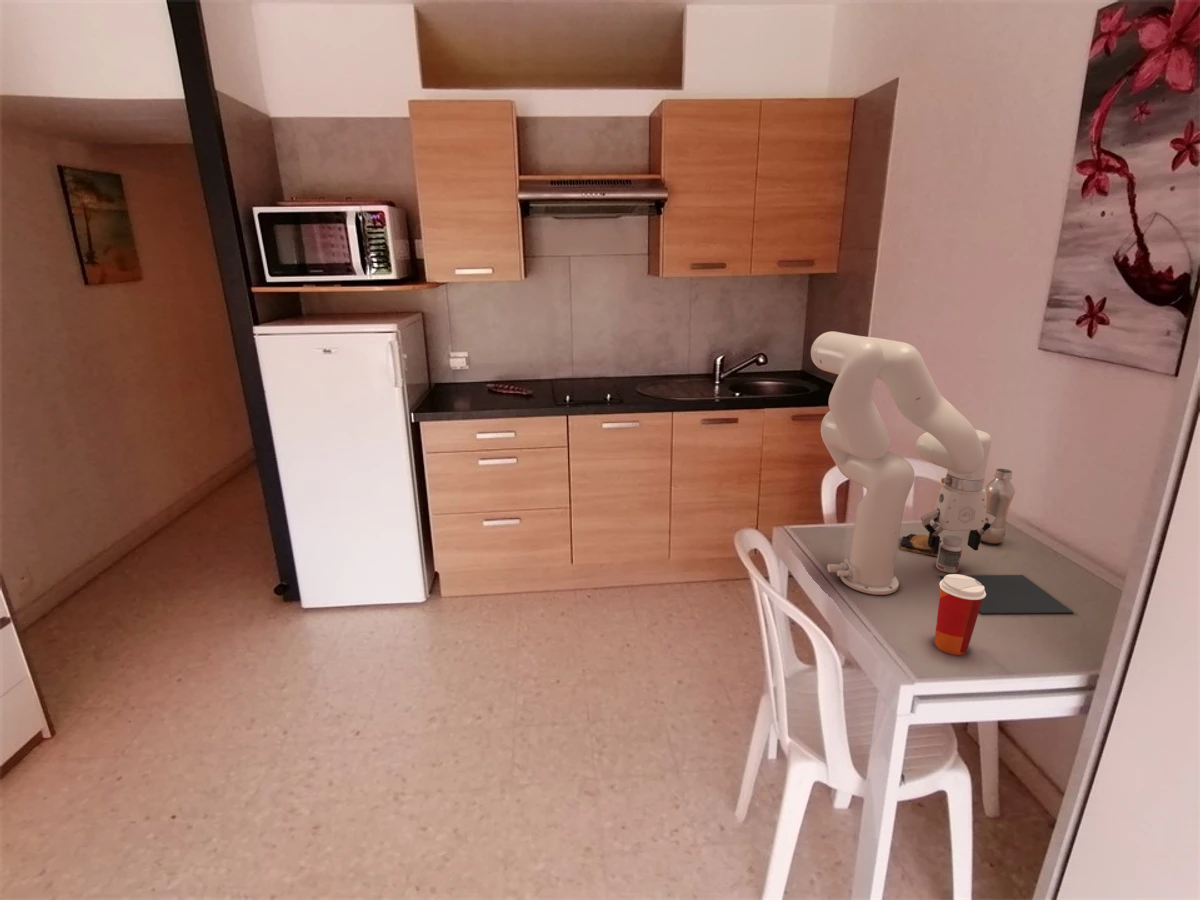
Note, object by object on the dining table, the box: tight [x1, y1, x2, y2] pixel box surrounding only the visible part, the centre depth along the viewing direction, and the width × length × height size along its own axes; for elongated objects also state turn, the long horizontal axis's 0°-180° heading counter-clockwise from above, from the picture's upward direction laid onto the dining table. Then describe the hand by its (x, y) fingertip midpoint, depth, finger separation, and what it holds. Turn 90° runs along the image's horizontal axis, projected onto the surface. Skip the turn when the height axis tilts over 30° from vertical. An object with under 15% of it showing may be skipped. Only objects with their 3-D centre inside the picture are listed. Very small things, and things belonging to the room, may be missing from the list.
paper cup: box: [934, 573, 986, 656], centre depth 117 cm, size 8×8×14 cm
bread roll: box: [900, 533, 943, 557], centre depth 159 cm, size 11×8×4 cm
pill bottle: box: [935, 533, 963, 574], centre depth 148 cm, size 5×5×8 cm
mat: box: [939, 574, 1074, 615], centre depth 138 cm, size 20×16×1 cm
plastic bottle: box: [980, 468, 1016, 544], centre depth 161 cm, size 6×7×20 cm
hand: (952, 548), depth 148 cm, fingers open, 9 cm apart
